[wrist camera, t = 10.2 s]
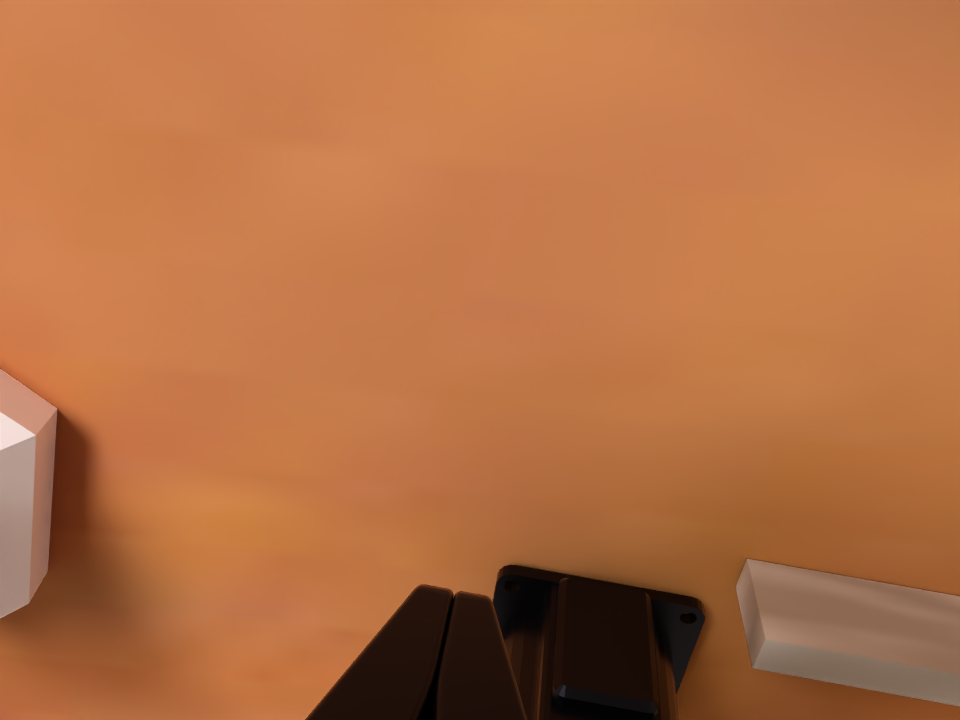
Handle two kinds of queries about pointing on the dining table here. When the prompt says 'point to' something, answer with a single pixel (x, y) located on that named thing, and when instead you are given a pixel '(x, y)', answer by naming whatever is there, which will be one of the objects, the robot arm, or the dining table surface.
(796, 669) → the white rectangular frame
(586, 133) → the dining table surface
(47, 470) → the white bust sculpture
